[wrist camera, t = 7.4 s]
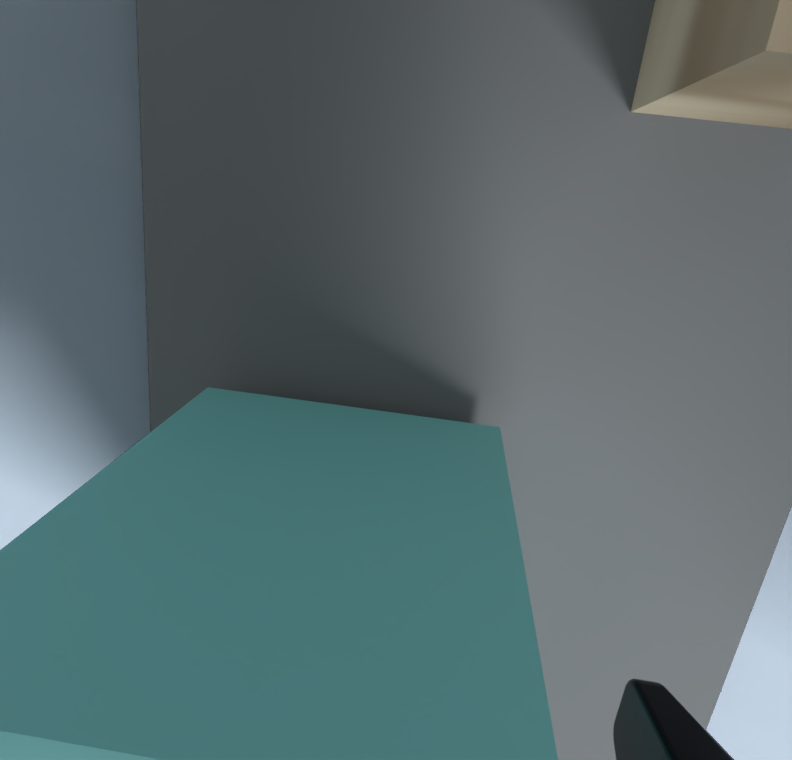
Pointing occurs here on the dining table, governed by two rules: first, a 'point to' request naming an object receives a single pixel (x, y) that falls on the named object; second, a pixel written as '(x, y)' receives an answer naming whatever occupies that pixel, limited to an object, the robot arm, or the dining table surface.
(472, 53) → the mat
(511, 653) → the teal rectangular block
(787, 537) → the dining table surface
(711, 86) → the tan block
